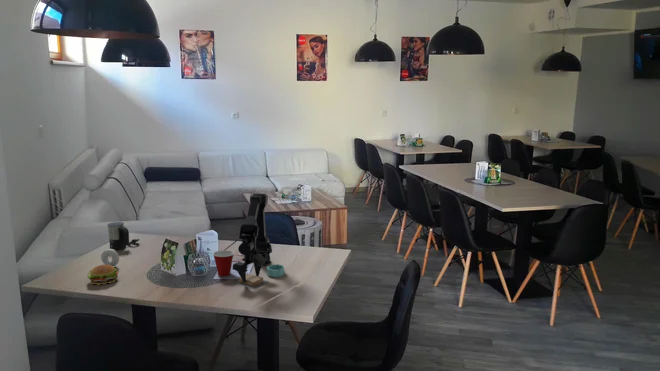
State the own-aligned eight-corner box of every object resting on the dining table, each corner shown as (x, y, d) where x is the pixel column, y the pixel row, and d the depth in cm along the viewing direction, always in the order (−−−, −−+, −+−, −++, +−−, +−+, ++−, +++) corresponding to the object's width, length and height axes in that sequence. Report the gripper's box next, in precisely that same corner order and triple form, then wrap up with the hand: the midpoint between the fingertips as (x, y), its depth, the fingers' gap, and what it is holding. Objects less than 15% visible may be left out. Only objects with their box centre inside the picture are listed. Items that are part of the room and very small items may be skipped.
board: (238, 282, 240) (238, 277, 239) (248, 278, 245) (247, 273, 245) (254, 286, 234) (254, 282, 234) (263, 282, 240) (263, 277, 239)
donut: (100, 267, 262) (98, 249, 260) (104, 265, 266) (103, 247, 264) (117, 268, 260) (115, 250, 258) (121, 266, 263) (119, 248, 262)
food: (93, 276, 249) (91, 261, 248) (122, 275, 251) (120, 260, 249) (82, 287, 236) (80, 271, 234) (112, 286, 237) (111, 270, 236)
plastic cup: (239, 273, 254) (238, 250, 251) (226, 280, 244) (225, 257, 242) (222, 269, 258) (221, 247, 256) (209, 276, 249) (208, 254, 246)
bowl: (264, 276, 249) (263, 268, 249) (274, 271, 256) (274, 263, 255) (276, 279, 245) (276, 271, 244) (287, 274, 252) (287, 266, 251)
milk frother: (105, 249, 290) (103, 225, 288) (121, 241, 306) (119, 218, 303) (128, 251, 288) (126, 226, 285) (142, 243, 303) (140, 219, 300)
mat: (232, 284, 239) (232, 282, 239) (248, 277, 248) (248, 275, 248) (254, 290, 232) (254, 289, 232) (269, 283, 241) (269, 281, 240)
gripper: (248, 256, 225) (250, 289, 228) (275, 246, 240) (276, 276, 243) (231, 252, 231) (232, 283, 234) (258, 242, 246) (259, 271, 249)
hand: (251, 279), depth 240 cm, fingers open, 9 cm apart
